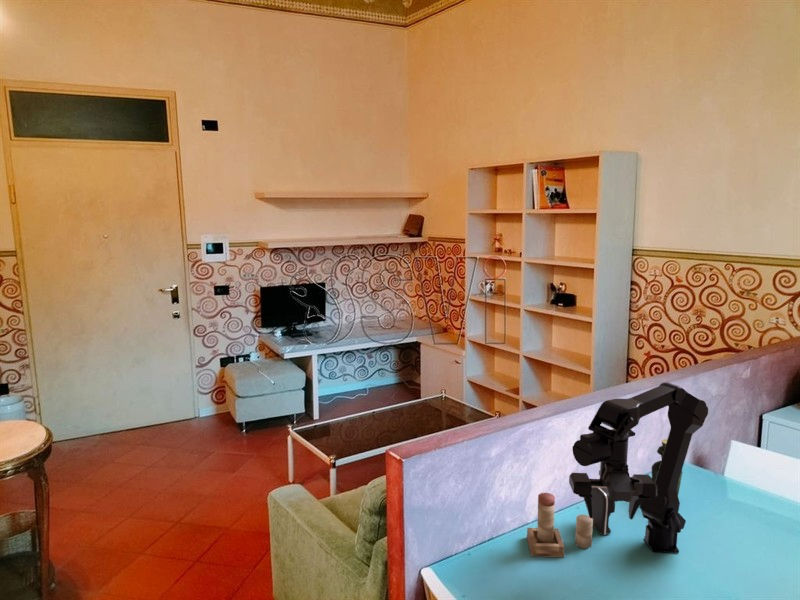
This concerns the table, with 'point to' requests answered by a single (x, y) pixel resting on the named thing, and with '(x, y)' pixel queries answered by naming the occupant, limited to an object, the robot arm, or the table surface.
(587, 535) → the short pin
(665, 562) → the table surface
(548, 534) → the long pin
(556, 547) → the light brown square frame
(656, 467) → the potion bottle
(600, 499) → the battery charger
